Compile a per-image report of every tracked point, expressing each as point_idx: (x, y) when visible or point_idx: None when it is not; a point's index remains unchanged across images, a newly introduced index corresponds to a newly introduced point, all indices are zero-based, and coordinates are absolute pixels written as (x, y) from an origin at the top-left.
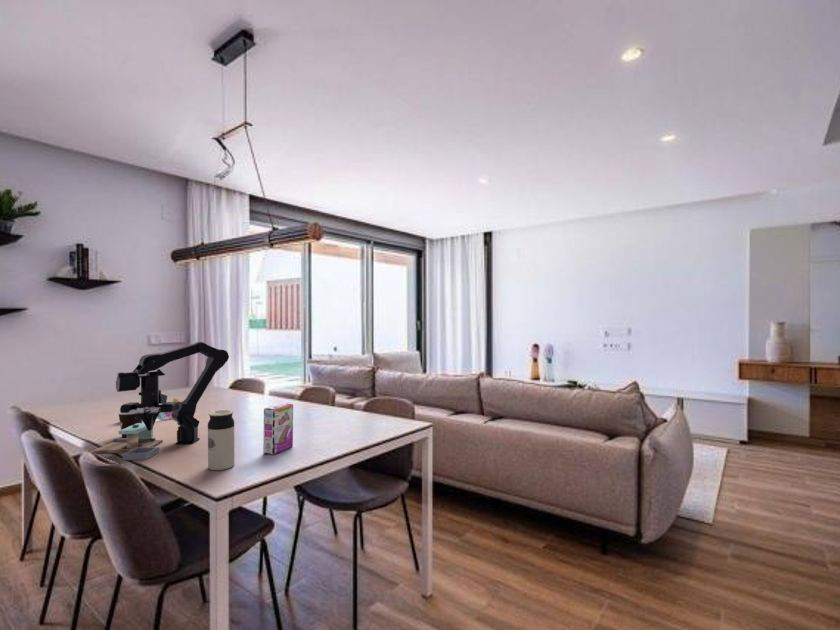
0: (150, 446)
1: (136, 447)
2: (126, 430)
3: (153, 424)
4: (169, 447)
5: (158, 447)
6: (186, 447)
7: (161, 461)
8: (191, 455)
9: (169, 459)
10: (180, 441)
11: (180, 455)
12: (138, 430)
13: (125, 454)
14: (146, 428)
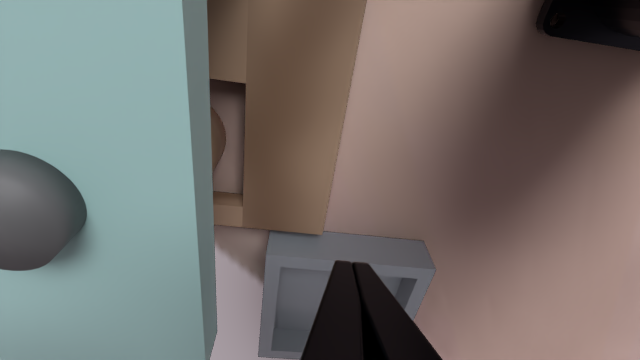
0: (335, 162)
1: (267, 256)
2: (69, 354)
3: (411, 339)
4: (479, 129)
5: (434, 273)
6: (611, 154)
7: (465, 356)
8: (610, 307)
9: (499, 340)
10: (595, 6)
11: (554, 300)
12: (208, 312)
13: (275, 357)
14: (208, 115)
